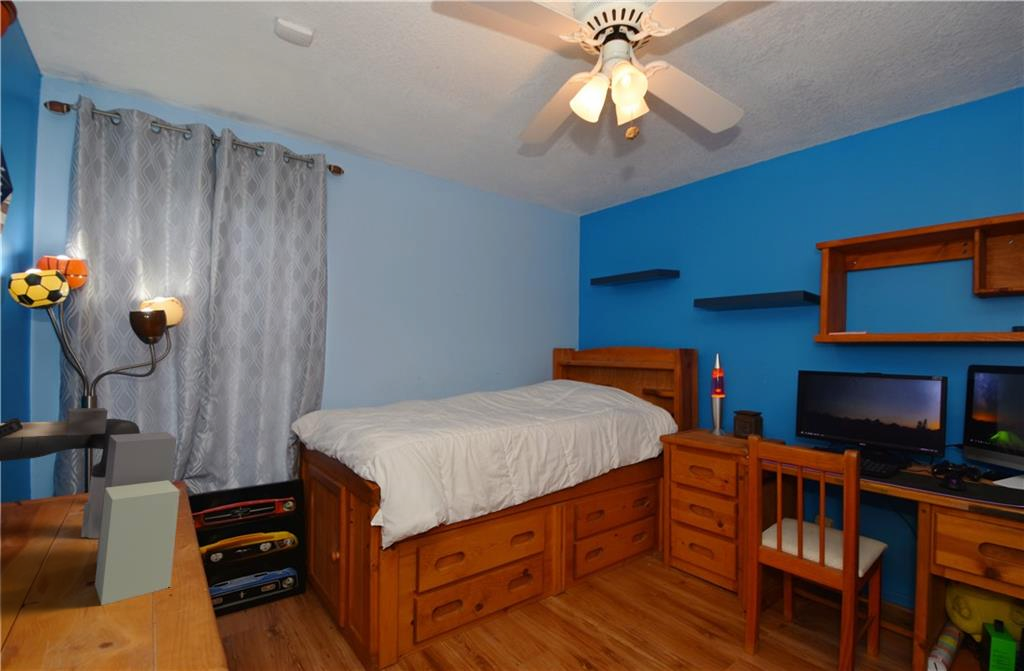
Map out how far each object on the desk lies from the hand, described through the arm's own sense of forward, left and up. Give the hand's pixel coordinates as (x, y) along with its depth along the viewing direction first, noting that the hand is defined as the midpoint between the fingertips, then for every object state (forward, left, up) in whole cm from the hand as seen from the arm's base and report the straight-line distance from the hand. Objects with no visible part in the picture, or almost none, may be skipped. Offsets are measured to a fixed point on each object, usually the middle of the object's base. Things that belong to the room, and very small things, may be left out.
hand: (20, 422), depth 93 cm
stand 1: (+12, +24, -39) cm, 47 cm away
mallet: (+3, +1, -3) cm, 4 cm away
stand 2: (+18, +10, -39) cm, 44 cm away
